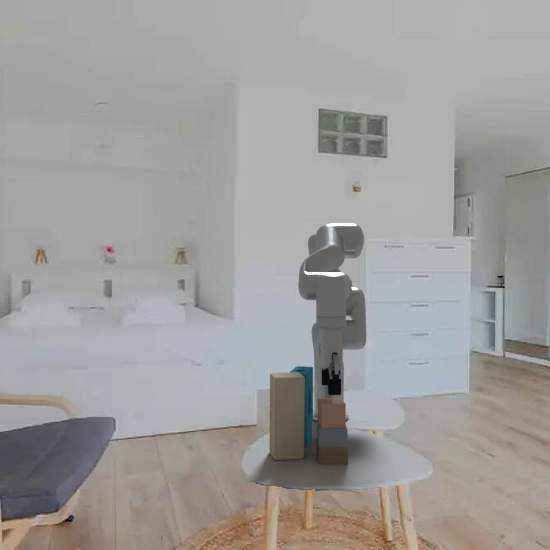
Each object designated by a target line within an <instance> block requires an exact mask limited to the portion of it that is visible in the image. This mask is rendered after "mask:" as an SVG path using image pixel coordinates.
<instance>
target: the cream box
mask: <svg viewBox="0 0 550 550" xmlns="http://www.w3.org/2000/svg"><path fill="white" fill-rule="evenodd" d="M304 404H305V377H304V376H303V375H301V374H300V373H298V372H291V373H289V372H270V373H269V444H268V445H269V447H268V448H269V454H270V455H271V457H272V458H273V460H274V461H286V460H300V459H304V458H305V447H304Z"/></svg>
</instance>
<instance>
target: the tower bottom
mask: <svg viewBox="0 0 550 550" xmlns="http://www.w3.org/2000/svg"><path fill="white" fill-rule="evenodd" d="M315 439H316V445H315V446H316V448H315V450H316V451H315V452H316V454H315V455H316V458H317V460H318V465H320V466H331V465H332V466H337V465H338V466H340V465H341V466H342V465H349V445H347V447H319V443H318V438H317V437H316V438H315Z"/></svg>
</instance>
